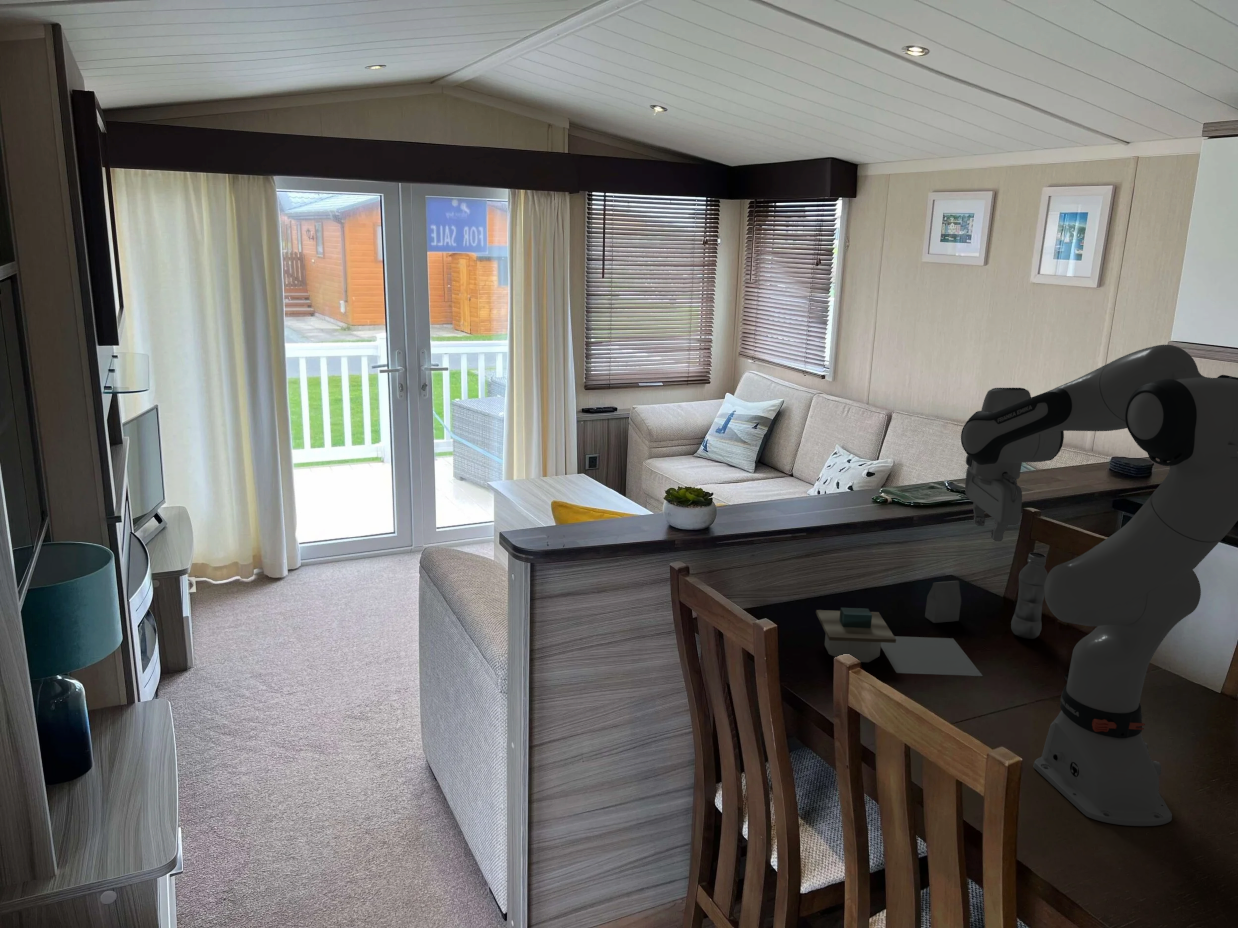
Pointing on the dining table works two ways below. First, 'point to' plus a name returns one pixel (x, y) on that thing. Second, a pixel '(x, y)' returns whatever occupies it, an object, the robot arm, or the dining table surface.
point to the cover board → (855, 632)
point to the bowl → (854, 649)
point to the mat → (928, 656)
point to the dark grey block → (943, 602)
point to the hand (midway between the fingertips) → (987, 532)
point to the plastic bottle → (1030, 597)
